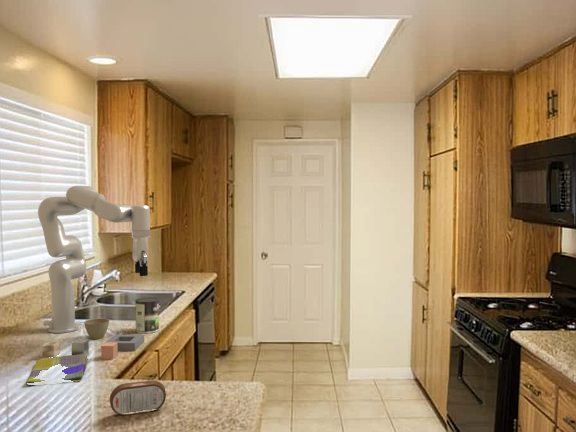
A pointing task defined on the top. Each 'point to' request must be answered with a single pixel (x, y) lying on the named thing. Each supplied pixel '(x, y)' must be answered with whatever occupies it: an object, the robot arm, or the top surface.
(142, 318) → the coffee can
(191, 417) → the top surface
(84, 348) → the steel block
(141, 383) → the tin
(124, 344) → the bearing plate
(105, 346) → the terracotta block
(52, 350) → the birch block
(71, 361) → the dish towel
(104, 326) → the flower pot
